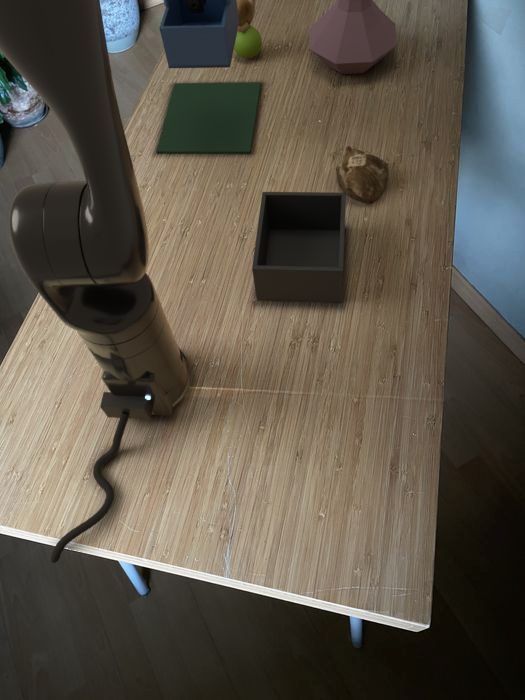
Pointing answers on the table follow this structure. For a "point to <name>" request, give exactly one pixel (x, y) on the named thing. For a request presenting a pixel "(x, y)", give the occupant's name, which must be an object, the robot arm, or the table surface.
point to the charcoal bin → (300, 247)
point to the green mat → (210, 118)
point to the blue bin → (199, 34)
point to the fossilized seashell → (362, 175)
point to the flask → (352, 36)
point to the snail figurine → (247, 31)
